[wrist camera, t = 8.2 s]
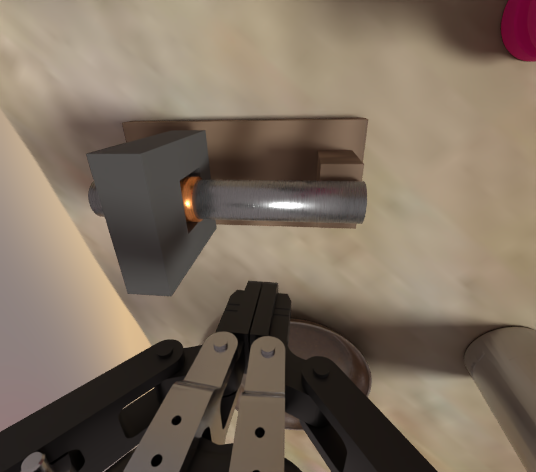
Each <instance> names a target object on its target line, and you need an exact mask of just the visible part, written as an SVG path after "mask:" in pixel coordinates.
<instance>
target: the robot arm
mask: <svg viewBox="0 0 536 472" xmlns="http://www.w3.org/2000/svg"><path fill="white" fill-rule="evenodd" d="M290 316H291V300H290V298H289V296H288V294H281V293H278V283H271V282H257V281H248V283H247V286H246V288H245V291H244V290H237V291H236V292H234V293H233V294H232V295H231V296H230V299H229V301H228V303H227V306H226V308H225V311H224V313H223V316H222V318H221V320H220V323H219V325H218V328H217V330H216V333H214V334H212V335H210V336H209V337H208V338H207V339H206V340H205V342H204V344H202V345H199V346H195V347H189V348H183V346H182V344H181V343H180V342H179V341H177V340H164V341H161V342H159V343H157V344H155V345H153V346H151V347H150V348H148V349H146V350H144V351H143V352H141V353H139V354H137V355H136V356H134V357H132V358H130V359H128V360H127V361H125V362H123V363H121V364H120V365H118V366H116V367H115V368H113V369H111V370H109V371H107V372H105V373H104V374H102V375H100V376H98V377H97V378H95V379H93V380H91V381H90V382H88V383H86V384H84V385H83V386H81V387H79V388H77V389H75V390H74V391H72V392H70V393H68V394H66V395H65V396H63V397H61V398H59V399H58V400H56V401H54V402H52V403H51V404H49V405H47V406H46V407H43V408H42V409H40V410H38V411H36V412H35V413H33V414H31V415H29V416H28V417H26V418H24V419H22V420H21V421H19V422H17V423H15V424H13V425H12V426H10V427H8V428H6V429H5V430H3V431H1V432H0V472H102V471H104V470H105V469H106V468H108V467H109V466H110V465H112V464H113V463H114V462H116V461H117V460H118V459H119V458H121V457H122V456H123V455H125V454H126V453H127V452H129V451H130V450H131V449H133V448H134V447H135V446H137V445H138V444H139V445H138V446H137V447H136V448H135V449H133V450H132V451H130V452H129V453H127V454H126V455H125V456H124V457H122V458H121V459H120V460H119V461H117V462H116V463H115V464H114V465H112V466H111V467H110V468H109V469H107V470H106V471H105V472H302V471H301V470H300V469H299V468H298V467H297V466H296V465H294V464H293V463H292V462H291V461H289V460H288V459H286V458H284V439H285V412H286V413H288V414H290V415H292V416H294V417H296V418H298V419H299V422H300V424H301V426H302V428H303V429H304V431H305V432H306V434H307V435H308V437H309V438H310V440H311V441H312V443H313V444H314V446H315V447H316V449H317V451H318V452H319V454H320V455H321V457H322V458H323V460H324V461H325V463H326V464H327V466H328V467H329V469H330V470H331V472H437V471H436V469H435V468H434V467H433V466H432V465H431V464H430V463H429V462H428V461H427V460H426V459H425V458H424V457H423V456H422V455H421V454H420V453H419V451H418V450H417V449H416V448H415V447H414V446H413V445H412V444H411V443H410V442H409V441H408V440H407V439H406V438H405V437H404V436H403V435H402V433H401V432H400V431H399V430H398V429H397V428H396V427H395V426H394V425H393V424H392V423H391V422H390V421H389V420H388V419H387V418H386V417H385V415H384V414H383V413H382V412H381V411H380V410H379V409H378V408H377V407H376V406H375V405H374V404H373V403H372V402H371V401H370V400H369V399H368V397H367V396H366V395H365V394H364V393H363V392H362V391H361V390H360V389H359V388H358V387H357V386H356V385H355V384H354V383H353V382H352V381H351V380H350V378H349V377H348V376H347V375H346V374H345V373H344V372H343V371H342V370H341V369H340V368H339V367H338V366H337V365H336V364H335V363H334V362H333V361H332V360H330V359H329V358H326V357H323V356H313V357H310V358H308V359H307V360H305V359H302V358H300V357H298V356H296V355H295V354H293V353H292V352H291V351H290V349H289V347H288V342H289V332H290ZM464 364H465V366H466V368H467V370H468V371H469V373H470V375H471V377H472V379H473V380H474V382H475V383H476V385H477V387H478V388H479V390H480V392H481V394H482V395H483V397H484V399H485V401H486V402H487V404H488V406H489V407H490V409H491V411H492V413H493V414H494V416H495V418H496V419H497V421H498V423H499V424H500V426H501V428H502V430H503V431H504V433H505V435H506V436H507V438H508V440H509V442H510V443H511V445H512V447H513V448H514V450H515V452H516V453H517V455H518V457H519V459H520V460H521V462H522V464H523V465H524V467H525V469H526V470H527V472H536V331H535V330H533V329H529V328H525V327H507V328H501V329H497V330H494V331H491V332H488V333H486V334H484V335H482V336H480V337H479V338H477V339H476V340H475V341H473V342H472V343H471V345H470V346H469V347H468V348H467V350H466V352H465V355H464ZM243 374H247V376H246V382H245V389H244V392H242V394H241V399H240V405H239V411H238V418H237V424H236V430H235V436H234V443H231V444H225V439H226V434H227V431H228V428H229V425H230V422H231V419H232V416H233V413H234V410H235V407H236V403H237V400H238V397H239V394H240V391H241V382H242V378H243ZM152 388H154V389H152ZM151 389H152V390H151ZM149 390H151V391H149ZM148 391H149V392H148ZM146 392H148V393H146ZM145 393H146V394H145ZM143 394H145V395H143ZM141 395H143V396H142V397H140V396H141ZM138 397H140V398H139V399H137V398H138ZM135 399H137V400H136V401H134V400H135ZM132 401H134V402H133V403H131V402H132ZM129 403H131V404H130V405H128V404H129ZM126 405H128V406H127V407H126V408H124V407H125V406H126ZM123 408H124V409H123Z"/></svg>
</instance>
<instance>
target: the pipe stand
mask: <svg viewBox="0 0 536 472" xmlns="http://www.w3.org/2000/svg"><path fill="white" fill-rule="evenodd" d="M122 125H123V130H124V134H125V138H126V143H127V142H131V141H135V140H138V139H142V138H146V137H149V136H153V135H157V134H160V133H164V132H168V131H173V130H206V139H207V148H208V157H209V166H210V175H211V180H296V181H362V176H363V168H364V164H363V157H364V149H365V141H366V133H367V125H368V119H366V118H341V119H270V120H198V121H130V122H124V123H122ZM216 224H225V225H259V226H293V227H321V228H355V229H356V224H355V223H318V222H282V221H245V220H216Z"/></svg>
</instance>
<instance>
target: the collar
mask: <svg viewBox="0 0 536 472" xmlns="http://www.w3.org/2000/svg"><path fill="white" fill-rule="evenodd" d="M86 156H87V159H88V163H89V166H90V169H91V173H92V176H93V179H94V183H95V186H96V189H97V193H98V196H99V199H100V203H101V206H102V209H103V213H104V216H105V219H106V223H107V226H108V229H109V233H110V236H111V239H112V242H113V246H114V249H115V252H116V256H117V259H118V262H119V266H120V269H121V272H122V276H123V279H124V282H125V286H126V289H127V292H128V294H141V295H157V296H172V295H173V293H174V292H175V290H176V289H177V287H178V285H179V284H180V282H181V281H182V279H183V278H184V276H185V275H186V273H187V272H188V270H189V269H190V267H191V266H192V264H193V263H194V261H195V260H196V258H197V257H198V255H199V254H200V252H201V251H202V249H203V248H204V246H205V245H206V243H207V242H208V240H209V239H210V237H211V236H212V234H213V233H214V231H215V230H216V220H209V219H203V220H202V221H201V222H187V221H186V217H185V211H184V205H183V199H182V193H181V187H180V180H182V179H183V178H184V177H201V178H202V179H203V180H211V175H210V166H209V157H208V148H207V139H206V130H173V131H168V132H164V133H160V134H157V135H153V136H149V137H146V138H142V139H138V140H135V141H131V142H127V143H124V144H120V145H116V146H113V147H109V148H106V149H102V150H98V151H95V152H91V153H87V154H86Z"/></svg>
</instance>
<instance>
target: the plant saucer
mask: <svg viewBox="0 0 536 472" xmlns="http://www.w3.org/2000/svg"><path fill="white" fill-rule="evenodd" d="M288 347H289V349H290V351H291V352H292V353H293V354H295V355H296V356H298V357H300V358H302V359H305V360H307V359H308V358H310V357H313V356H323V357H326V358H329V359H330V360H332V361H333V362H334V363H335V364H336V365H337V366H338V367H339V368H340V369H341V370H342V371H343V372H344V373H345V374H346V375H347V376H348V377H349V378H350V380H351V381H352V382H353V383H354V384H355V385H356V386H357V387H358V388H359V389H360V390H361V391H362V392H363V393H364V394H365V395H366V396H367V397H368V396H369V393H370V390H371V384H372V380H371V372H370V369H369V366H368V363H367V361H366V360H365V358H364V356H363V355H362V354H361V353H360V351H359V350H358V349H357V348H356V347H355V346H354V345H353V344H352V343H351V342H349V341H348V340H347V339H346V338H344V337H343V336H342V335H340V334H338V333H337V332H335V331H333V330H331V329H329V328H327V327H325V326H323V325H320V324H317V323H314V322H311V321H306V320H301V319H290V332H289V342H288ZM246 376H247V374H243V378H242V382H241V391H240V394H239V397H238V400H237V403H236V407H235V409H236V410H237V411H239V405H240V399H241V394H242V392H244V389H245V382H246ZM285 429H289V430H304V429H303V428H302V426H301V424H300V422H299V419H298V418H296V417H294V416H292V415H290V414H288V413H286V412H285Z"/></svg>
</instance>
